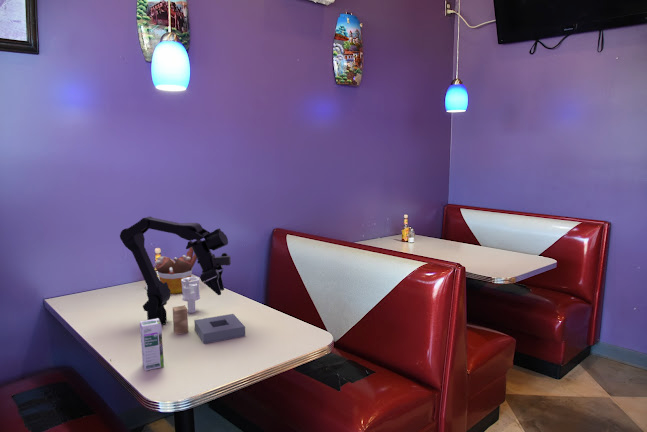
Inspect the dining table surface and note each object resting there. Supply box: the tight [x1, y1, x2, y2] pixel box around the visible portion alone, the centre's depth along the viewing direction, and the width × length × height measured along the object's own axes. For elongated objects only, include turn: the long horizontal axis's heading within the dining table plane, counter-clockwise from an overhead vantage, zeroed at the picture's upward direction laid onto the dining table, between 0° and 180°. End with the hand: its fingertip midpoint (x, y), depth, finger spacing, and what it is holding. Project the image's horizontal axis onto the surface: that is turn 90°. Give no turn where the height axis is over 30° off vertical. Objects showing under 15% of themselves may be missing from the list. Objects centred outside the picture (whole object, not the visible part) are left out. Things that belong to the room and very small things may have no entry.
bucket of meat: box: [155, 247, 198, 295], centre depth 228 cm, size 20×16×20 cm
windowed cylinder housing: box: [181, 276, 201, 314], centre depth 199 cm, size 7×7×15 cm
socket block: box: [194, 313, 246, 344], centre depth 177 cm, size 15×15×4 cm
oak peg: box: [172, 305, 189, 335], centre depth 178 cm, size 4×4×9 cm
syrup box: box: [139, 318, 165, 372], centre depth 150 cm, size 6×6×14 cm
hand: (221, 292), depth 181 cm, fingers open, 9 cm apart
